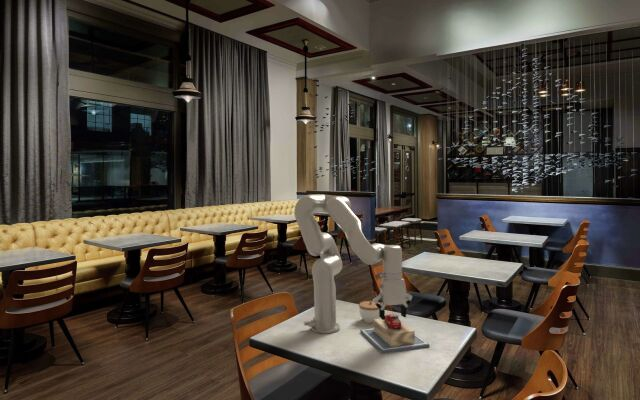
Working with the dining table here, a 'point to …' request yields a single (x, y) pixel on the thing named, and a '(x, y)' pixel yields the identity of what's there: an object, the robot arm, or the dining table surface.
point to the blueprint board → (384, 345)
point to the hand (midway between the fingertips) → (393, 317)
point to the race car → (393, 321)
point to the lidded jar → (369, 311)
